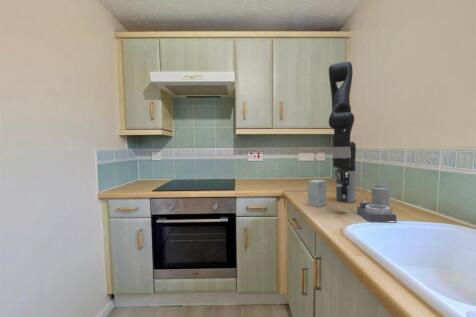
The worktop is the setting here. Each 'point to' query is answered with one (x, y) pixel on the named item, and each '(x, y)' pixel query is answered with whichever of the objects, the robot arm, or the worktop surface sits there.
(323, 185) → the small box
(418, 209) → the worktop surface
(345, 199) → the lens
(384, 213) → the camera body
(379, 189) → the can
